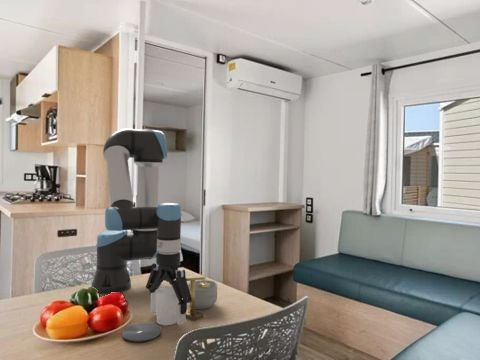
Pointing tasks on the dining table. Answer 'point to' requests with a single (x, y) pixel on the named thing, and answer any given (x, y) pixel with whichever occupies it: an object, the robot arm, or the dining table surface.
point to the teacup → (205, 294)
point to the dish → (141, 332)
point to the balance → (191, 311)
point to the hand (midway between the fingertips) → (167, 317)
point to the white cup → (166, 305)
